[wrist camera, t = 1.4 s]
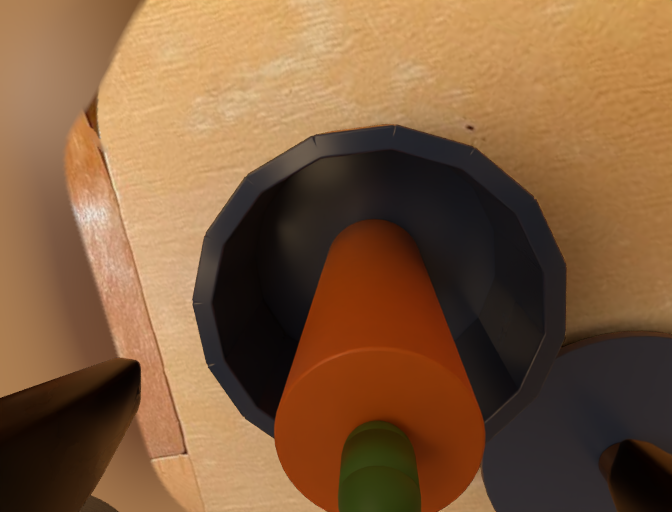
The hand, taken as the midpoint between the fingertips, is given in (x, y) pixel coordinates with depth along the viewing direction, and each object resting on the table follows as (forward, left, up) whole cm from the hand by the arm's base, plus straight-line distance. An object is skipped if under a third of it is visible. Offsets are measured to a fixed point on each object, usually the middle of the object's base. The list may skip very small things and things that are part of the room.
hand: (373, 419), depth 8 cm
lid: (0, -13, -9) cm, 16 cm away
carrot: (0, 0, -9) cm, 9 cm away
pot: (0, 0, -10) cm, 10 cm away
